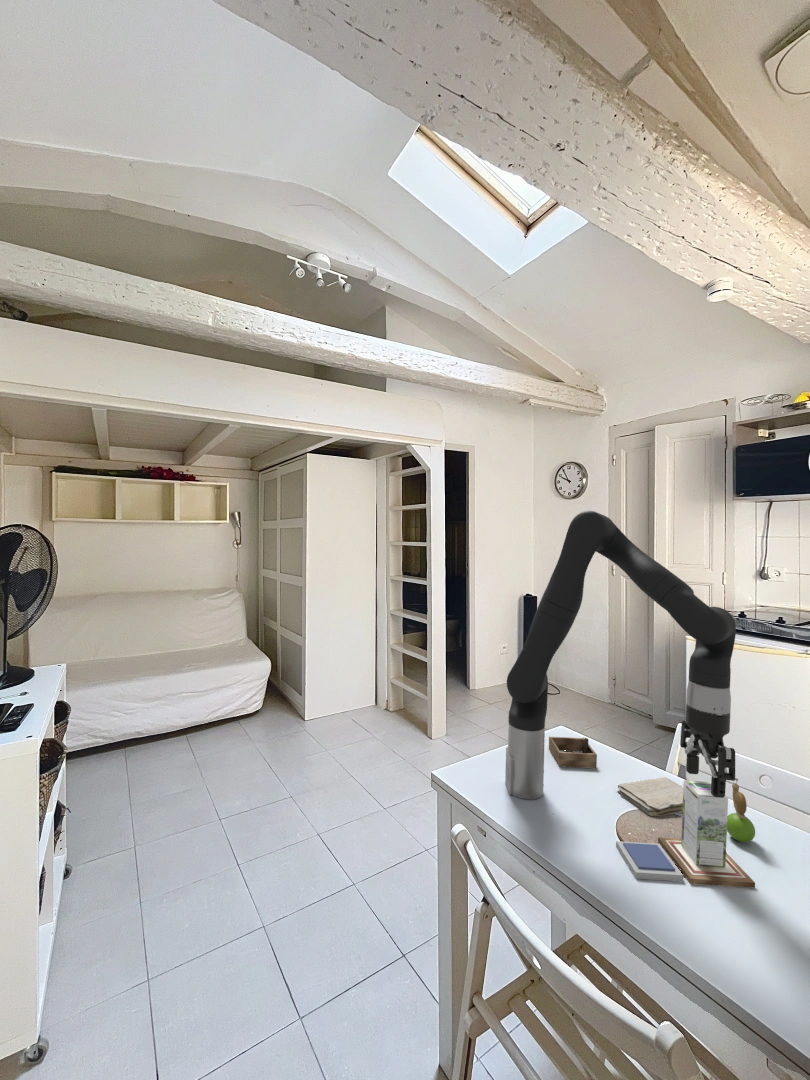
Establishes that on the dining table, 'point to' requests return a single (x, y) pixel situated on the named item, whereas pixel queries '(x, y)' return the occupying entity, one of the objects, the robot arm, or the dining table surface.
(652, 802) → the washcloth
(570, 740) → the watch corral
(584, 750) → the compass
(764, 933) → the dining table surface
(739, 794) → the snail figurine
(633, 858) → the ink pad
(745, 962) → the dining table surface
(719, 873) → the board
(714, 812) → the syrup box
